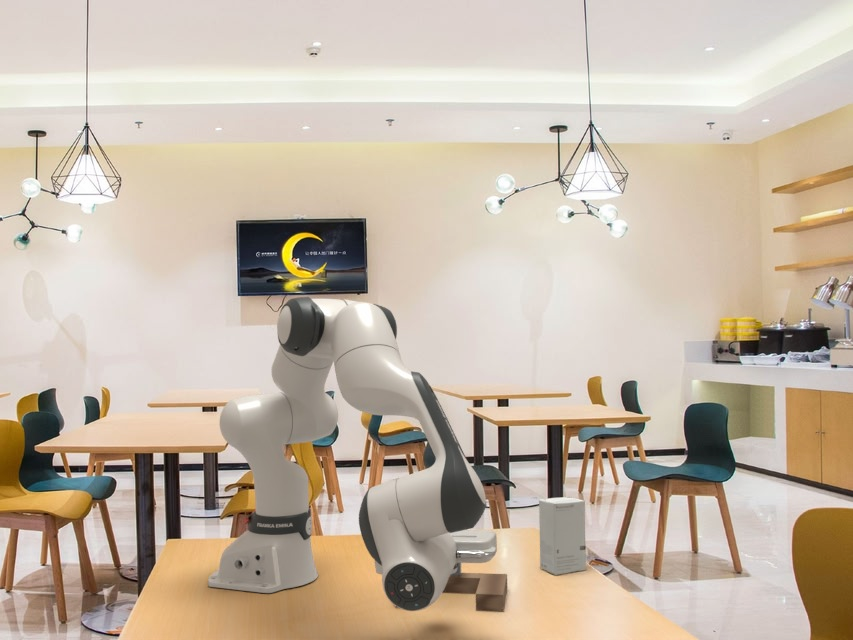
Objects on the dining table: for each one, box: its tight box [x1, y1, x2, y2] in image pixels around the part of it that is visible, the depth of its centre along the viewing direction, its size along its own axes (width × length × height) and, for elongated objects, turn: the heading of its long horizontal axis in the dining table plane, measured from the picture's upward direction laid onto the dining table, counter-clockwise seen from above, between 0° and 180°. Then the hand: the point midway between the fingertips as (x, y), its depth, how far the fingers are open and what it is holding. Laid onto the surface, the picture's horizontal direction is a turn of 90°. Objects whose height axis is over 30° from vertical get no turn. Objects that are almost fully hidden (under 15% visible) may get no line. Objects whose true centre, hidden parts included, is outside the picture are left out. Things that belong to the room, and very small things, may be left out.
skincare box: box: [538, 496, 587, 576], centre depth 160 cm, size 8×6×15 cm
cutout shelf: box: [395, 572, 508, 612], centre depth 144 cm, size 20×12×3 cm, turn 80°
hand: (441, 532), depth 131 cm, fingers closed on pill bottle, 6 cm apart
